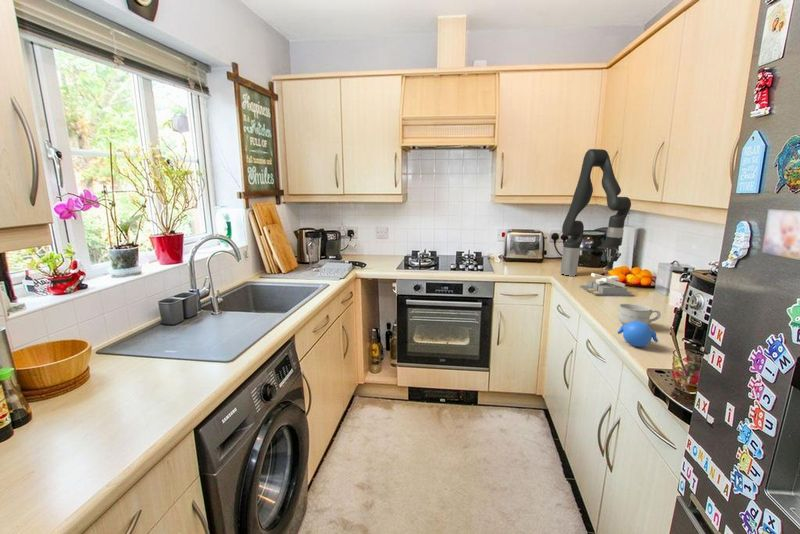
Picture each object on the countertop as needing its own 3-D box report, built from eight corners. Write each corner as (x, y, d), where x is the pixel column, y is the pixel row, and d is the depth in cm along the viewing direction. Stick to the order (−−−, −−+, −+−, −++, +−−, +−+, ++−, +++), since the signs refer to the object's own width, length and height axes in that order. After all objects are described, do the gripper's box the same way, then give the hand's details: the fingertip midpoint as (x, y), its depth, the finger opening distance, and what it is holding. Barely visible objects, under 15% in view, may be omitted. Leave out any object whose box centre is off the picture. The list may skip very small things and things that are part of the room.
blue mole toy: (658, 343, 135) (662, 320, 133) (655, 354, 126) (659, 329, 124) (619, 334, 142) (622, 312, 140) (613, 344, 133) (617, 321, 131)
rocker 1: (590, 275, 207) (591, 272, 207) (608, 280, 208) (609, 277, 207) (594, 277, 203) (595, 274, 203) (612, 281, 204) (613, 278, 204)
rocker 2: (595, 282, 202) (595, 279, 202) (614, 278, 202) (614, 274, 201) (599, 284, 199) (599, 281, 198) (618, 279, 198) (618, 276, 198)
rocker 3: (601, 280, 196) (602, 277, 196) (619, 285, 197) (621, 282, 197) (605, 282, 193) (606, 278, 192) (624, 287, 193) (625, 284, 193)
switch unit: (579, 287, 209) (580, 277, 208) (614, 287, 210) (616, 278, 209) (595, 295, 193) (597, 285, 192) (633, 296, 193) (635, 286, 192)
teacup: (615, 326, 150) (617, 307, 148) (617, 319, 159) (620, 300, 157) (658, 335, 142) (661, 314, 141) (658, 326, 151) (661, 306, 150)
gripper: (600, 233, 207) (596, 265, 211) (614, 237, 194) (609, 271, 198) (614, 234, 207) (609, 265, 211) (629, 238, 194) (624, 271, 198)
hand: (609, 268), depth 205 cm, fingers closed
